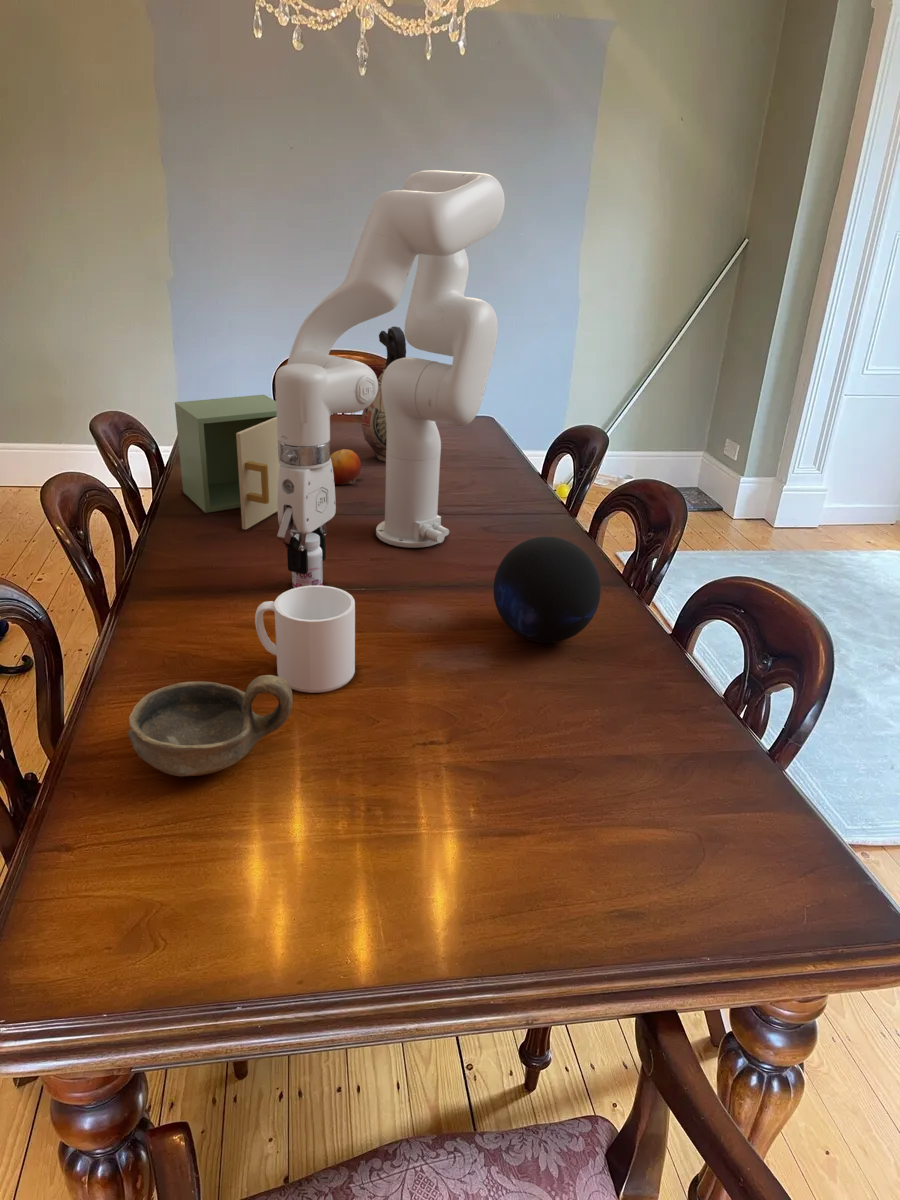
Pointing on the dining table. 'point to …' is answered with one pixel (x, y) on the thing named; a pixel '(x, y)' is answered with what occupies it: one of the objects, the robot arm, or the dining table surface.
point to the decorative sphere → (547, 589)
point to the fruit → (345, 467)
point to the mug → (312, 637)
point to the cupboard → (216, 446)
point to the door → (258, 471)
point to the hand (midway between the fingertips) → (307, 564)
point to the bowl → (204, 724)
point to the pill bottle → (310, 563)
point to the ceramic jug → (375, 411)
